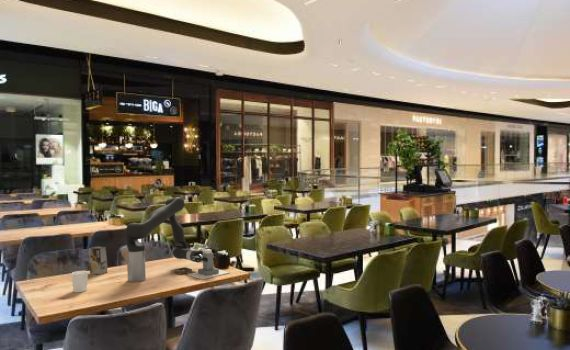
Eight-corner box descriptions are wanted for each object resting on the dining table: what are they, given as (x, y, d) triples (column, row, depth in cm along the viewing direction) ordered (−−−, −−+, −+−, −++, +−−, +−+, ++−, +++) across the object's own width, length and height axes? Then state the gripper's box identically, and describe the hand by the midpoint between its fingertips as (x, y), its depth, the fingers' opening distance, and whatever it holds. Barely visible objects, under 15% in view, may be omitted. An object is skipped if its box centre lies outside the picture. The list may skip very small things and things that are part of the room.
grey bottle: (207, 272, 281) (206, 250, 281) (203, 271, 284) (202, 249, 284) (213, 271, 284) (213, 249, 284) (209, 269, 287) (208, 248, 287)
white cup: (83, 287, 258) (82, 269, 258) (90, 290, 253) (90, 271, 253) (69, 291, 252) (68, 272, 252) (76, 293, 247) (75, 274, 247)
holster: (180, 274, 285) (180, 271, 284) (173, 272, 290) (173, 269, 290) (191, 272, 290) (191, 269, 290) (184, 270, 296) (184, 267, 296)
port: (202, 279, 272) (202, 274, 271) (187, 275, 283) (187, 270, 283) (229, 273, 285) (229, 268, 285) (214, 269, 297) (214, 264, 297)
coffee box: (108, 272, 296) (107, 246, 295) (101, 274, 290) (100, 248, 289) (95, 271, 298) (95, 246, 298) (89, 273, 292) (88, 248, 292)
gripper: (184, 251, 289) (200, 255, 277) (204, 248, 299) (220, 251, 287) (185, 263, 289) (200, 267, 277) (204, 259, 299) (220, 263, 287)
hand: (210, 259), depth 282 cm, fingers closed on grey bottle, 4 cm apart
